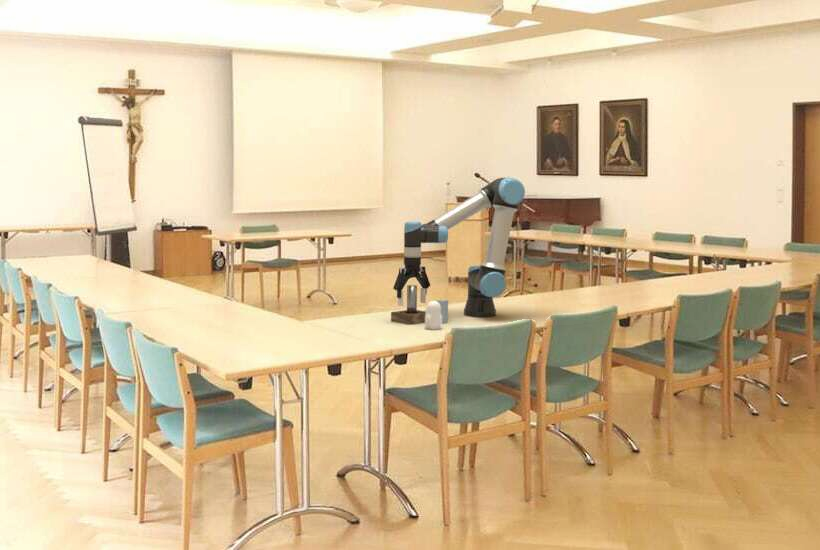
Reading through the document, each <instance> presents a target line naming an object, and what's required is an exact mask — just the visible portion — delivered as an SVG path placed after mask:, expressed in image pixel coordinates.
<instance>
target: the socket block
mask: <svg viewBox="0 0 820 550" xmlns="http://www.w3.org/2000/svg"><path fill="white" fill-rule="evenodd" d="M425 314H426V310H419V309H417V313H413V314H411V313H407V309H405V310H398V311H391V312H390V321H391V322H395V323H400V324H404V323H405V325H409V324H410V326H411V325H412V324H413V325H418V324H425ZM413 325H412V326H413Z"/></svg>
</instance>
